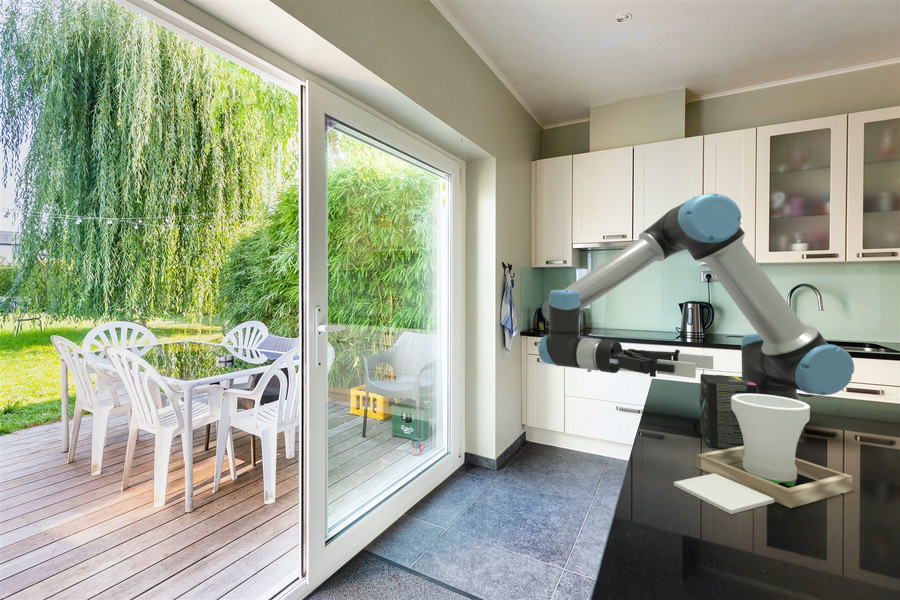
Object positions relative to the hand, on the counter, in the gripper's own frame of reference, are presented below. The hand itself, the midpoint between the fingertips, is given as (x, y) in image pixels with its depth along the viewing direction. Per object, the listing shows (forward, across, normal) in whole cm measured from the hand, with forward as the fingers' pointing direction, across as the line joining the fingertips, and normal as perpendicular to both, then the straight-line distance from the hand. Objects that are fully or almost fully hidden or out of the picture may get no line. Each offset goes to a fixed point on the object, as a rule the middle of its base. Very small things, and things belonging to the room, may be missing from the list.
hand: (704, 366), depth 79 cm
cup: (+10, 0, -19) cm, 22 cm away
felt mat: (+5, +12, -19) cm, 23 cm away
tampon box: (+1, -16, -19) cm, 25 cm away
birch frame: (+10, 0, -19) cm, 22 cm away
